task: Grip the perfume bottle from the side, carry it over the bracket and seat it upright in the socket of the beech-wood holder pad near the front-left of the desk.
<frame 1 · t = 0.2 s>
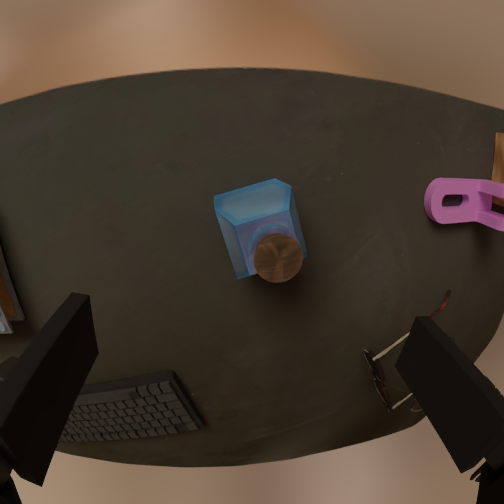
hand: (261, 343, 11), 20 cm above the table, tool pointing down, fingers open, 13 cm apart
sunglasses: (412, 342, 40), on the table
bracket: (457, 198, 33), on the table
keyboard: (87, 412, 37), on the table
perfume bottle: (252, 216, 30), on the table
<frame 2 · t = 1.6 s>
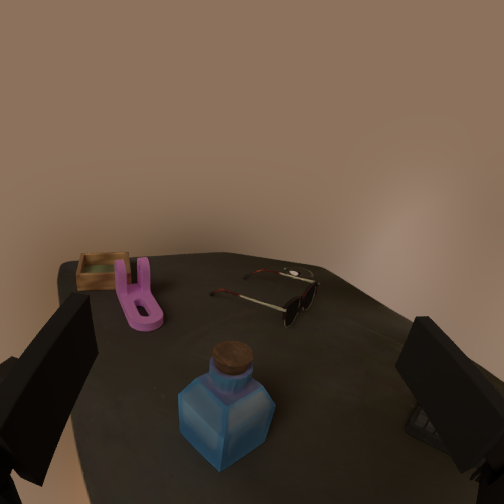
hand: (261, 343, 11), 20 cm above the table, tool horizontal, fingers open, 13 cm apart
sunglasses: (261, 302, 56), on the table
bracket: (139, 309, 47), on the table
holder: (104, 277, 55), on the table
perfume bottle: (222, 439, 27), on the table
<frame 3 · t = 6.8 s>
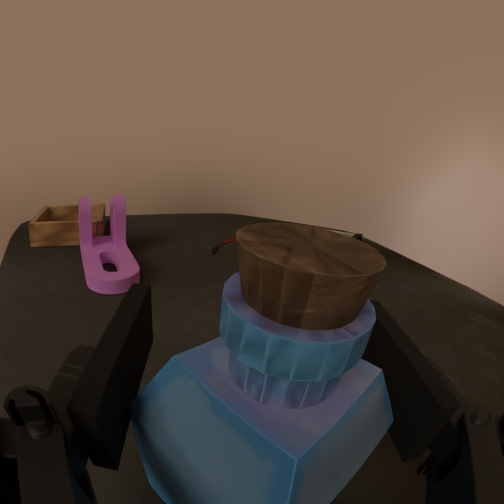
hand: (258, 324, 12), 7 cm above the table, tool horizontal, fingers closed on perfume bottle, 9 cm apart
bracket: (107, 268, 31), on the table
holder: (70, 233, 39), on the table
perfume bottle: (245, 498, 10), on the table, touching gripper
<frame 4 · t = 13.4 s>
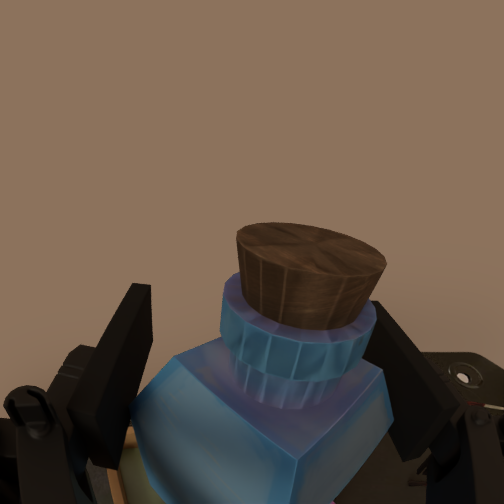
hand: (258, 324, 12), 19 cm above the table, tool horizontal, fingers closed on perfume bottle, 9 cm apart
holder: (176, 486, 19), on the table
perfume bottle: (245, 499, 10), point 12 cm above the table, touching gripper
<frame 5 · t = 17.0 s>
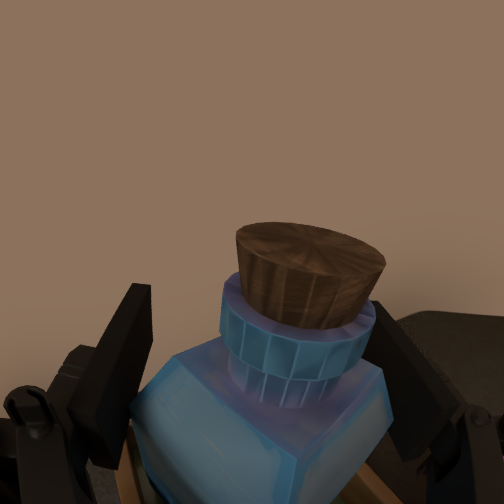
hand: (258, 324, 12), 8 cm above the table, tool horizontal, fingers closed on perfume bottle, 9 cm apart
perfume bottle: (245, 498, 10), point 1 cm above the table, touching gripper
when the fingers open (8 cm above the table, at t = 20.2 s): perfume bottle stays where it is, resting on holder.
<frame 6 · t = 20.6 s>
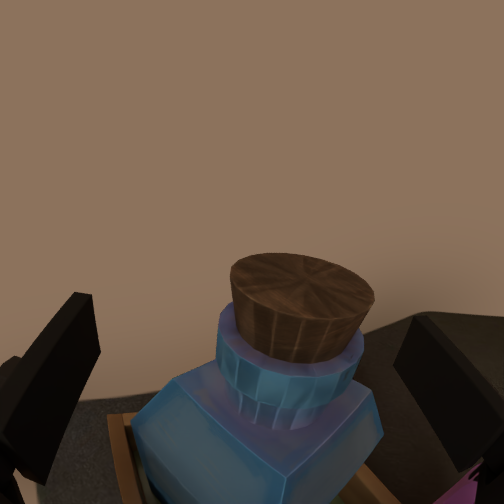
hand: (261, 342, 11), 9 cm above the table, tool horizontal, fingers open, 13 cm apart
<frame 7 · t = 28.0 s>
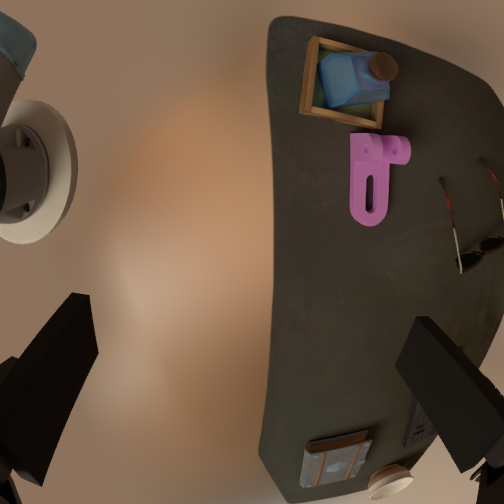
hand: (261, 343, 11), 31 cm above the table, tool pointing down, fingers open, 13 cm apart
book: (331, 455, 64), on the table
sunglasses: (466, 209, 43), on the table
bowl: (384, 471, 74), on the table
bracket: (367, 179, 40), on the table
holder: (340, 85, 35), on the table
keyboard: (427, 404, 61), on the table
perfume bottle: (342, 84, 35), point 1 cm above the table, touching holder
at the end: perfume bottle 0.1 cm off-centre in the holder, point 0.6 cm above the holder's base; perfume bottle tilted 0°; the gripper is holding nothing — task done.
